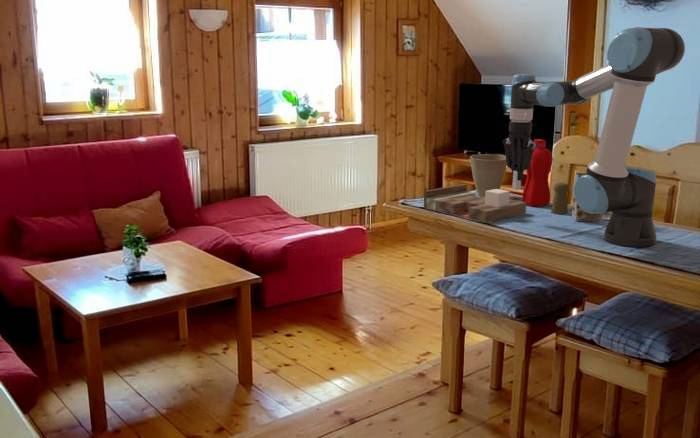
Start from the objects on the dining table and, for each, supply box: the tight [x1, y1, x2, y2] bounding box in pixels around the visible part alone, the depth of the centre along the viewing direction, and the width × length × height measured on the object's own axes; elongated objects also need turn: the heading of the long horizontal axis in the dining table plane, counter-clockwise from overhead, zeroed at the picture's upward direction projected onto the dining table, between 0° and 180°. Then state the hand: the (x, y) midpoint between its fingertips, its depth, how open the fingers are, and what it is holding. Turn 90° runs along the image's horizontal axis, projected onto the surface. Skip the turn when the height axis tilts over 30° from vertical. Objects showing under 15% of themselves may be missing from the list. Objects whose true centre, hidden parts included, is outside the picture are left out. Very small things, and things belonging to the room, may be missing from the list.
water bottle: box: [521, 138, 554, 208], centre depth 270 cm, size 9×11×25 cm
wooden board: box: [423, 183, 527, 224], centre depth 262 cm, size 30×22×6 cm
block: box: [485, 188, 510, 207], centre depth 253 cm, size 6×6×5 cm
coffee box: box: [571, 172, 603, 223], centre depth 247 cm, size 9×6×16 cm
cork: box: [550, 182, 570, 216], centre depth 258 cm, size 6×6×11 cm
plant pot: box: [469, 153, 507, 197], centre depth 286 cm, size 15×15×16 cm
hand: (516, 189), depth 246 cm, fingers closed
